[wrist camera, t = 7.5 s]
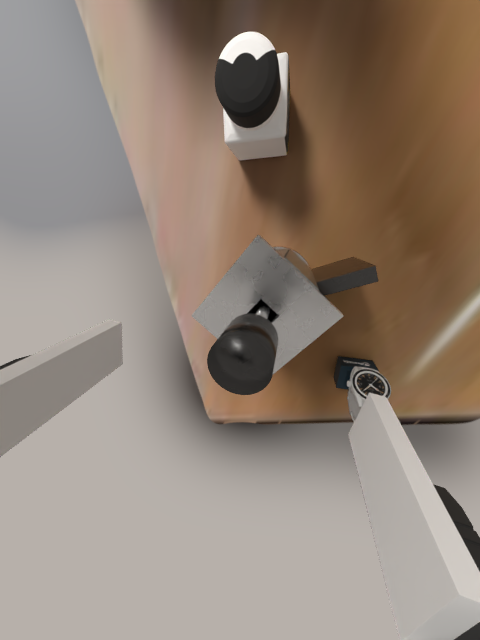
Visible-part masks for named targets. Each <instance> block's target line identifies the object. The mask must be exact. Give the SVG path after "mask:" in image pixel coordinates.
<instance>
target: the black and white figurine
mask: <svg viewBox="0 0 480 640" xmlns="http://www.w3.org/2000/svg"><path fill="white" fill-rule="evenodd" d="M215 87H216V92H217V96H218V99H219V101H220V103H221V104H222V106H223V114H224V137H225V143H226V145H227V146H228V147H229V148H230V150H231V151H232V152H233V154H234V155H235V156H236V157H237V159H238V160H249V159H258V158H267V157H276V156H285V155H287V154H288V145H289V115H290V77H289V58H288V54H287V53H286V52H284V53H279V54H277V53H276V51H275V48H274V46H273V45H272V43H271V42H270V41H269V40H268V39H267V38H266V37H265V36H264V35H262V34H260V33H257V32H244V33H242V34H239V35H237V36H236V37H234V38H233V39H232V40H231V41H230V42H229V43H228V44H227V45H226V47H225V48H224V49H223V51H222V53H221V55H220V57H219V60H218V63H217V67H216V72H215Z"/></svg>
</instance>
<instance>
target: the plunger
mask: <svg viewBox="0 0 480 640" xmlns="http://www.w3.org/2000/svg"><path fill="white" fill-rule="evenodd" d="M254 307H255V308H256V309H258V310H257V312H256V314H243V315H240V316H238V317H236V318H235V319H233V320H232V321H231V323H230V324H229V325H228V326H227V328H226V329H225V330H224V332H223V333H222V334H221V336H220V337H219V338H218V339H217V341H216V342H215V343H214V345H213V346H212V347H211V349H210V351H209V354H208V359H207V363H208V369H209V372H210V374H211V376H212V377H213V379H214V380H215V381H216V383H217V384H219V385H220V386H221V387H222V388H224V389H225V390H227V391H229V392H232V393H235V394H240V395H250V394H254V393H257V392H259V391H261V390H263V389H264V388H265V387H266V386H267V385H268V384H269V382H270V380H271V378H272V375H273V370H274V364H275V358H276V353H277V347H278V334H277V331H276V329H275V327H274V326H273V324H272V323H271V322H270V321H269V320H268V319H267V318H268V315H278V314H277V313H276V312H275V311H274V310H273V309H271V308H270V307H269V306H268V305H267V304H266V303H265V302H264V301H263V300H262V299H260V300H259V301H258V302H257V303H256V304H255V305H254Z"/></svg>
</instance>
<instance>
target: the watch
mask: <svg viewBox="0 0 480 640" xmlns="http://www.w3.org/2000/svg"><path fill="white" fill-rule="evenodd" d="M378 371H379V370H378V369H377V367H376V365H375V364H374V362H373V361H372V360H364V359H356V358H349V357H341V356H338V359H337V363H336V368H335V373H334V380H335V384H336V388H342V389H348V390H349V392H348V397H347V400H348V405H349V412H350V415H351V417H352V420H353V421H355V419H356V418H357V416H358V414H359V412H360V410H361V408H362V406H363V404H364V402H365V400H366V398H367V396H368V394H369V392H370V393H373V394H377V395H380V396H384V397H386V398H387V399H388V398H389V397H390V394H391V388H390V384H389V382H388V381H387V379H386V378H385V377H384V376H383V375H381V374H380V373H379V372H378Z"/></svg>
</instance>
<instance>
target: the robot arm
mask: <svg viewBox="0 0 480 640" xmlns="http://www.w3.org/2000/svg"><path fill="white" fill-rule="evenodd" d="M122 364H123V362H122V324H121V322H118V321H114V320H111V319H108V320H106V321H104V322H102V323H100V324H97V325H96V326H94V327H91V328H89V329H87V330H85V331H82V332H80V333H79V334H76V335H74V336H72V337H70V338H67V339H65V340H63V341H61V342H59V343H57V344H55V345H53V346H50V347H48V348H46V349H44V350H42V351H40V352H38V353H35V354H33V355H30V356H26V357H22V358H19V359H15V360H13V361H11V362H9V363H6V364H4V365H2V366H0V457H1V456H2V455H3V454H5V453H6V452H7V451H9V450H10V449H11V448H12V447H14V446H15V445H17V444H18V443H19V442H20V441H22V440H23V439H25V438H26V437H27V436H29V435H30V434H31V433H32V432H34V431H35V430H36V429H37V428H39V427H40V426H42V425H43V424H44V423H46V422H47V421H48V420H50V419H51V418H52V417H53V416H55V415H56V414H57V413H59V412H60V411H61V410H63V409H64V408H65V407H67V406H68V405H69V404H71V403H72V402H73V401H74V400H76V399H77V398H79V397H80V396H81V395H82V394H84V393H85V392H86V391H88V390H89V389H90V388H92V387H93V386H94V385H96V384H97V383H98V382H99V381H101V380H102V379H103V378H105V377H106V376H107V375H108V374H110V373H111V372H113V371H114V370H115V369H117V368H118V367H119V366H121V365H122ZM348 436H349V440H350V444H351V448H352V452H353V456H354V460H355V463H356V468H357V472H358V476H359V480H360V484H361V488H362V492H363V496H364V500H365V504H366V508H367V512H368V516H369V520H370V523H371V528H372V532H373V536H374V540H375V544H376V548H377V552H378V556H379V560H380V564H381V568H382V572H383V576H384V580H385V584H386V588H387V592H388V596H389V600H390V604H391V608H392V612H393V616H394V620H395V624H396V628H397V632H398V636H399V640H480V537H479V536H478V534H477V532H476V531H474V530H473V526H472V524H471V522H470V521H469V519H468V517H467V516H466V514H465V512H464V510H463V509H462V507H461V506H460V505H459V504H458V503H457V501H456V500H455V499H454V498H453V497H452V496H451V495H450V493H449V492H447V490H446V489H445V488H442V487H440V486H436V485H433V484H432V482H431V480H430V478H429V476H428V474H427V472H426V471H425V469H424V467H423V465H422V463H421V461H420V459H419V457H418V456H417V454H416V452H415V450H414V448H413V447H412V444H411V442H410V441H409V439H408V437H407V435H406V433H405V431H404V430H403V428H402V426H401V424H400V422H399V420H398V418H397V416H396V414H395V413H394V411H393V409H392V407H391V405H390V403H389V401H388V399H387V398H386V397H384V396H380V395H377V394H373V393H370V392H369V394H368V396H367V398H366V400H365V402H364V404H363V406H362V408H361V410H360V412H359V414H358V416H357V418H356V419H355V421H354V423H353V425H352V428H351V429H350V431H349V433H348Z"/></svg>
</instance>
